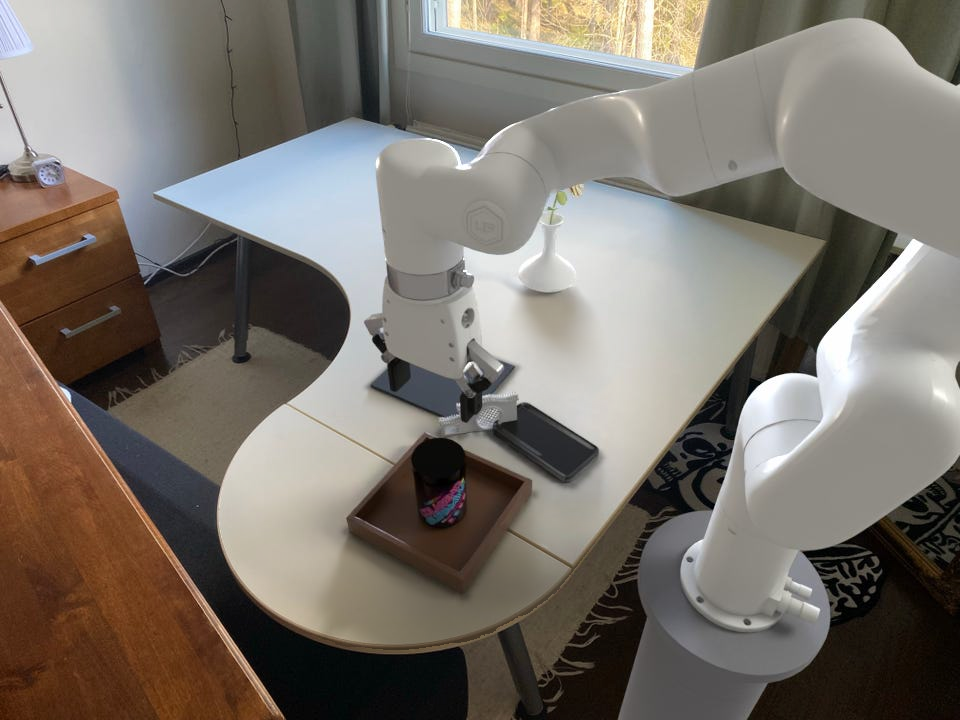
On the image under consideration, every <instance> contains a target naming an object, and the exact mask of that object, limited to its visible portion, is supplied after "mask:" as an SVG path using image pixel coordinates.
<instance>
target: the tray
mask: <svg viewBox="0 0 960 720" xmlns="http://www.w3.org/2000/svg"><path fill="white" fill-rule="evenodd" d="M432 438H438V437H437V436H435V435H432V434H430V433H428V432H426V431H425V432H423V433H422V434H421V436H419V437H418V438H417V439H416V441H415V442H414V443H413V444H412V445H411V446H410V447H409V448H408V450H407V451H406V452H405V453H404V454H403V455H402V456H401V457H400V458H399V459H398V460H397V461H396V462H395V464H394V465H393V466H392V467H391V468H390V469H389V470H388V471H387V472H386V473H385V475H384V476H383V477H382V478H381V479H380V480H379V481H378V482H377V483H376V484H375V486H374V487H373V488H372V489H371V490H370V491H369V492H368V493H367V494H366V495H365V496H364V498H363V499H362V500H360V502H359V503H358V504H357V505H356V506H355V507H354V508H353V510H352V511H350V513H348V515H347V516H346V517H345V520H346V524H347V528H348V533H351V534H353V535H355V536H356V537H358V538H360V539H362V540H364V541H365V542H367V543H369V544H371V545H373V546H375V547H376V548H378V549H380V550H382V551H383V552H385V553H388V554H389V555H391V556H392V557H395V558H397V559H398V560H400V561H401V562H404V563H405V564H408V565H410V566H411V567H413V568H415V569H417V570H418V571H420V572H422V573H424V574H426V575H428V576H429V577H431V578H433V579H435V580H437V581H438V582H440V583H442V584H444V585H445V586H448V587H449V588H451V589H452V590H455V591H456V592H459V593H460V594H462V595H464V594H465V593H466V591H467V590H468V588H469V586H470V585H471V584H472V582H473V581H474V579H475V578H476V576H477V575H478V573H479V572H480V570H481V569H482V567H483V566H484V565H485V564H486V562H487V560H488V559H489V557H490V556H491V554H492V553H493V551H494V550H495V548H496V547H497V546H498V544H499V542H500V541H501V540H502V538H503V537H504V535H505V533H507V531H508V529H509V528H510V526H511V525H512V523H513V522H514V521H515V519H516V518H517V516H518V515H519V513H520V512H521V510H522V509H523V508H524V506H525V505H526V503H527V502H528V500H529V498H530V497H531V496H532V494H533V479H531V478H529V477H527V476H524V475H522V474H520V473H518V472H516V471H513V470H512V469H511V470H510V469H509V468H507V467H504V466H503V465H500V464H497V463H495V462H493V461H490V460H488V459H486V458H484V457H482V456H479V455H478V454H475V453H472V452H470V451H468V450H466V449H464V451H465V456H466V488H467V511H466V514H465V516H464V517H463V519H462V520H461V521H460V522H459V523H457V524H456V525H454V526H452V527H449V528H442V529H440V528H434V527H431V526H429V525H427V524H425V523H424V522H423V521H422V520H421V519H420V517H419V515H418V512H417V504H416V495H415V487H414V478H413V472H412V463H411V456H412V453H413V451H414V449H415V448H416V447H417V446H418V445H419V444H420V443H422V442H424V441H426V440H428V439H432Z"/></svg>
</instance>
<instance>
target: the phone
mask: <svg viewBox="0 0 960 720" xmlns="http://www.w3.org/2000/svg"><path fill="white" fill-rule="evenodd" d="M492 433H493V434H494V435H495V436H496V437H497V438H499V439H500V440H502V441H503V442H505V443H506V444H507V445H509V446H510V447H512V448H513V449H514V450H516V451H518V452H519V453H520V454H522V455H523V456H525V457H526V458H528V459H529V460H531V461H532V462H534V463H535V464H536V465H538V466H539V467H540V468H541V469H543V470H545V471H547V472H548V473H549V474H550V475H552V476H553V477H555V478H557V479H558V480H560V481H561V482H563V483H571V482H573V481H574V480H576V478H578V477H579V475H581V474H582V473H583V472H584V471H585V470H586V469H588V468H589V467H590V466H591V465H592V464H593V463H595V461H596V460H597V459H598V458H599V453H600V449H599V447H598V446H597V445H596V444H594V443H593V442H591V441H589V440H588V439H586V438H584V437H583V436H581V435H579V433H577V432H575V431H574V430H572V429H570V428H569V427H567V426H566V425H564V424H563V423H561V422H560V421H558V420H556V419H554V418H553V417H551V416H550V415H549V414H547V413H545V412H544V411H542V410H541V409H539V408H537V407H536V406H534V405H532V404H531V403H530V402H525V401H522V402H520V403H517V420H513V421H508V422H502V423H501V424H498V420H496V421H495V422H494V423H493V429H492Z"/></svg>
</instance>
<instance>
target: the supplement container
mask: <svg viewBox="0 0 960 720" xmlns="http://www.w3.org/2000/svg"><path fill="white" fill-rule="evenodd" d="M464 450H465V449H464V448H463V446H462V445H461V444H460V443H459V442H457V441H455V440H453V439H451V438H447V437H437V438H432V439H428V440H426V441H424V442H422V443H420V444H419V445H418V446H417V447H416V448H415V449H414V451H413V453H412V456H411V463H412V472H413V478H414V487H415V495H416V504H417V512H418V515H419V517H420V519H421V520H422V521H423V522H424V523H425V524H427V525H429V526H431V527H434V528H440V529H442V528H449V527H452V526H454V525H456V524H457V523H459V522H460V521H461V520H462V519H463V517H464V516H465V514H466V511H467V488H466V456H465V451H464Z"/></svg>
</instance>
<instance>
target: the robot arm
mask: <svg viewBox="0 0 960 720" xmlns="http://www.w3.org/2000/svg"><path fill="white" fill-rule="evenodd" d="M460 159H461V158H460V156H459V154H458V152H457V151H456V150H455V148H453V147H452V146H451V145H449V144H448V143H446V142H444V141H441V140H439V139H432V138H425V137H424V138H423V137H421V138H406V139H402V140H399V141H395V142H392V143H390V144H388V145H387V146H385V147H384V148H383V149H382V150H381V151H380V152H379V154H378V155H377V157H376V161H375V169H374V170H375V182H376V190H377V199H378V206H379V207H378V208H379V213H380V215H379V216H380V224H381V225H380V226H381V232H382V240H383V249H384V250H383V251H384V258H385V267H386V276H385V278H384V281H383V282H384V283H383V287H382V289H383V290H382V303H381V312H380V313H374V314H371V315H369V316H368V317H367V318H366V319H365V320H364V321H363V324H364V326H365V327H366V329H367V331H368V333H369V335H370V336H371V341H372V343H373V345H374V346H375V348H377V350H378V351H379V352H380V353H381V355H380V359H381V360H382V362H383V363H385V364H386V368H387V369H388V376H389V384H390V390H391V391H393V392H397V391H398V390H399V389H400V388H401V387H402V386H403V385H404V384H405V383H406V382H408V381H409V380H410V378H411V373H410V363H411V364H414V365H416V366H419V367H421V368H424V369H426V370H429V371H431V372H434V373H436V374H439V375H441V376H444V377H447V378H451V379H455V381H456V382H457V384H458V385H459V386H460V388H461V389H462V391H463V393H462V394H461V395H460V413H461V420H462V422H465V423H467V422H468V421H469V420H470V419H471V418H472V417H473V416H474V415H477V414H478V413H479V412H480V410H481V408H482V391H485V390H487V389H488V388H489V387H490V386H491V385H492V384H493V383H494V382H495V380H496V379H497V378H498V377H499V375H500V374H501V373H502V372H503V370H504V366H503V364H501V363H500V362H499V361H498V360H499V359H497V358H496V357H495V356H494V355H492V354H491V353H490V352H489V351H487V350H486V349H485V348H484V347H483V337H482V326H481V318H480V310H479V306H478V301H477V298H476V293H475V290H474V288H473V285H474V282H475V276H474V275H473V274H471V273H469V272H468V271H467V270H466V260H465V250H464V249H465V248H468V249H470V250H473V251H476V252H480V253H482V254H486V255H494V256H495V255H496V256H504V255H509V254H512V253H515V252H516V251H518V250H519V251H520V249H521V248H523V247H524V246H525V245H526V244H527V243H528V242H529V241H530V239H531V238H532V236H533V234H534V232H535V230H536V229H537V226H538V224H539V222H538V221H539V219H540V217H541V215H542V214H544V211H545V208H546V207H547V204H548V202H549V199H550V197H551V196H552V195H554V194H557V192H559V191H564V190H568V189H567V188H570V187H573V186H577V185H580V184H583V185H584V184H587V183H590V182H593V181H597V180H602V179H609V178H621V177H622V178H631V179H636V180H639V181H641V182H643V183H645V184H647V185H649V186H650V187H652V188H654V189H656V191H659V192H661V193H662V194H665V195H666V196H670V197H684V196H688V195H691V194H694V193H697V192H701V191H704V190H708V189H711V188H715V187H718V186H721V185H723V184H724V185H725V184H728V183H731V182H734V181H737V180H741V179H745V178H749V177H752V176H756V175H759V174H762V173H766V172H770V171H774V170H776V169H781V168H783V169H784V171H785V173H787V175H789V176H790V178H791V179H792V180H793V181H794V183H796V184H797V185H798V186H800V187H802V188H803V189H804V190H806V191H807V192H809V193H810V194H811V195H813V196H815V197H817V198H818V199H820V200H822V201H824V202H826V203H828V204H830V205H832V206H834V207H836V208H838V209H840V210H842V211H844V212H847V213H848V214H849V213H850V214H851V215H854V216H855V217H858V218H860V219H863V220H865V221H868V222H869V223H872V224H875V225H877V226H879V227H882V228H884V229H887V230H888V231H891V232H894V233H896V234H899V235H900V236H903V237H905V238H908V239H910V240H911V241H910V242H909V244H908V245H907V247H905V249H904V251H902V253H901V254H900V255H899V256H898V257H897V259H896V260H895V261H894V262H893V263H892V264H891V266H890V267H888V269H887V270H886V271H885V272H884V273H883V274H882V276H880V277H879V278H878V279H877V280H876V281H875V283H873V284H872V285H871V287H870V288H868V290H867V291H865V293H864V294H862V296H861V297H860V298H859V299H858V300H857V301H856V302H855V303H854V304H853V305H852V306H851V307H850V308H849V309H848V310H847V311H846V312H845V313H844V314H843V315H842V316H841V317H840V318H839V319H838V321H836V323H834V325H832V327H831V328H829V330H828V331H827V332H826V334H825V335H824V336H823V337H822V339H821V340H820V342H819V344H818V346H817V350H816V359H815V360H816V361H815V362H816V363H815V366H816V367H815V368H816V376H814V375H810V374H807V373H800V372H799V373H797V372H795V373H794V372H790V373H784V374H780V375H776V376H773V377H770V378H769V379H767V380H765V381H763V382H762V383H761V384H760V385H758V386H756V388H755V389H754V390H753V391H752V392H751V394H750V395H749V396H748V397H747V400H746V401H745V403H744V404H743V408H742V409H741V412H740V415H739V419H738V424H737V428H736V433H735V437H734V441H733V442H734V444H733V447H732V452H731V456H730V459H729V463H728V467H727V470H726V473H725V475H724V478H723V479H724V480H723V482H722V484H721V487H720V490H719V493H718V495H717V499H716V502H715V505H714V508H713V510H712V511H713V513H712V516H711V519H710V522H709V525H708V528H707V531H706V534H705V537H704V539H703V540H700V541H699V542H697V543H695V544H694V545H692V546H691V547H690V548H689V549H688V551H687V552H686V554H685V555H684V557H683V560H682V563H681V567H680V581H681V585H682V588H683V591H684V593H685V595H686V597H687V598H688V600H689V601H690V603H691V604H692V605H693V607H694V608H695V609H696V610H697V611H698V612H699V613H700V614H702V615H703V616H704V617H705V618H707V619H708V620H710V621H711V622H713V623H715V624H717V625H718V626H721V627H723V628H726V629H728V630H733V631H737V632H749V633H751V632H758V631H762V630H765V629H768V628H770V627H771V626H773V625H774V624H776V623H777V622H778V621H779V620H780V618H781V617H782V615H783V614H785V612H786V611H787V612H789V613H791V614H794V615H796V616H798V618H800V619H803V620H805V621H807V622H809V623H811V624H815V623H816V621H817V619H818V616H819V612H820V609H819V608H817V607H815V606H812V605H810V604H808V603H806V602H802V601H799V600H797V599H795V598H793V597H791V595H792V594H791V593H789V592H788V591H790V592H792V593H794V594H797V596H800V597H802V598H804V599H807V600H809V598H810V596H811V592H812V589H811V588H808V587H806V586H804V585H800V584H798V583H795V582H793V581H791V580H792V578H790V577H788V576H787V575H788V572H789V568H790V566H791V564H792V562H793V560H794V558H795V556H796V554H797V552H798V550H800V551H817V550H822V549H826V548H831V547H834V546H837V545H839V544H841V543H843V542H845V541H848V540H849V539H852V538H853V537H855V536H857V535H858V534H860V533H862V532H863V531H865V530H866V529H867V528H870V527H871V526H872V525H874V524H875V523H877V522H879V520H881V519H882V518H884V517H885V516H887V515H888V514H889V513H891V512H892V511H894V510H895V509H897V508H898V507H900V506H902V505H903V504H904V503H905V502H907V501H908V500H909V499H911V498H912V497H914V496H916V495H917V494H918V493H920V492H922V491H923V490H924V489H925V488H927V487H929V486H930V485H931V484H933V483H934V482H935V481H936V480H938V479H940V477H942V476H943V475H944V474H946V473H947V471H948V470H950V469H951V467H952V466H953V465H954V464H955V463H956V461H957V460H958V458H959V457H960V386H959V383H958V380H957V378H956V371H957V367H958V364H959V362H960V83H959V84H957V85H956V84H953V83H951V82H949V81H947V80H945V79H944V78H941V77H939V76H937V75H936V74H934V73H932V72H930V71H928V70H927V69H925V68H924V67H922V66H921V65H919V64H918V62H916V60H915V58H913V55H911V53H910V52H909V50H908V49H907V48H906V46H905V45H904V44H903V43H902V41H900V39H899V38H898V37H897V36H896V35H895V34H894V33H892V32H891V31H890V30H889V29H888V28H887V27H886V26H884V25H882V24H880V23H878V22H877V21H874V20H871V19H866V18H861V17H848V18H842V19H841V18H840V19H835V20H831V21H827V22H823V23H821V24H818V25H814V26H812V27H809V28H806V29H803V30H800V31H798V32H794V33H792V34H790V35H787V36H783V37H781V38H779V39H776V40H773V41H772V42H768V43H765V44H763V45H760V46H757V47H755V48H752V49H750V50H747V51H744V52H742V53H739V54H736V55H734V56H731V57H728V58H726V59H722V60H721V61H717V62H715V63H711V64H709V65H706V66H704V67H701V68H698V69H695V70H692V71H690V72H687V73H684V74H682V75H679V76H676V77H673V78H671V79H668V80H665V81H662V82H659V83H657V84H653V85H650V86H646V87H641V88H633V89H632V88H631V89H626V90H622V91H618V92H611V93H606V94H599V95H594V96H589V97H585V98H581V99H578V100H575V101H571V102H568V103H565V104H562V105H560V106H556V107H555V108H551V109H549V110H546V111H544V112H542V113H539V114H537V115H534V116H531V117H528V118H526V119H523V120H521V121H519V122H516V123H513V124H511V125H509V126H507V127H505V128H503V129H502V130H500V131H499V132H498V133H496V134H495V135H493V136H492V137H490V139H489V140H488V141H487V142H486V144H485V145H484V146H483V147H482V148H481V150H480V152H478V154H477V155H476V157H475V158H474V159H473V160H472V161H471V162H468V163H466V164H463V165H462V163H461V160H460ZM478 366H479V367H481V368H482V369H483V370H484V372H485V373H484V374H483V373H482V371H481V370H480V368H479V367H478ZM467 371H468V372H469V373H470V374H471V376H472V377H473V379H472V381H471V382H470V381H469V380H468V379H467V377H466V376H465V373H466V372H467Z"/></svg>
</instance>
